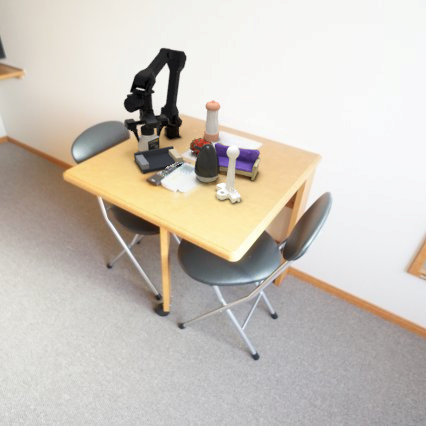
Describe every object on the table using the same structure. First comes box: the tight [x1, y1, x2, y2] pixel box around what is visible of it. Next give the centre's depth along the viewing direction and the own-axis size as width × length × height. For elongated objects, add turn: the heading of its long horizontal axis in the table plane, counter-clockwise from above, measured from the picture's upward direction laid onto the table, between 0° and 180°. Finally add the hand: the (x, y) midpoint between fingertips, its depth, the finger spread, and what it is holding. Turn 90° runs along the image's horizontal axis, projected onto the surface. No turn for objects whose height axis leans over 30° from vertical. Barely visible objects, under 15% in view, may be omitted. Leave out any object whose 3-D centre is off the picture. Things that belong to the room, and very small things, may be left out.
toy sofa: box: [213, 141, 262, 181], centre depth 132 cm, size 21×9×10 cm, turn 70°
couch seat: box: [133, 145, 184, 175], centre depth 137 cm, size 18×12×4 cm, turn 117°
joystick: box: [216, 145, 242, 204], centre depth 114 cm, size 11×8×20 cm
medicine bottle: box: [137, 124, 161, 152], centre depth 144 cm, size 7×7×12 cm
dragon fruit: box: [189, 137, 214, 156], centre depth 145 cm, size 8×8×12 cm
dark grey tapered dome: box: [193, 144, 221, 183], centre depth 125 cm, size 10×10×15 cm
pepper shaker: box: [203, 99, 221, 143], centre depth 155 cm, size 7×7×19 cm
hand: (148, 140), depth 144 cm, fingers open, 9 cm apart
